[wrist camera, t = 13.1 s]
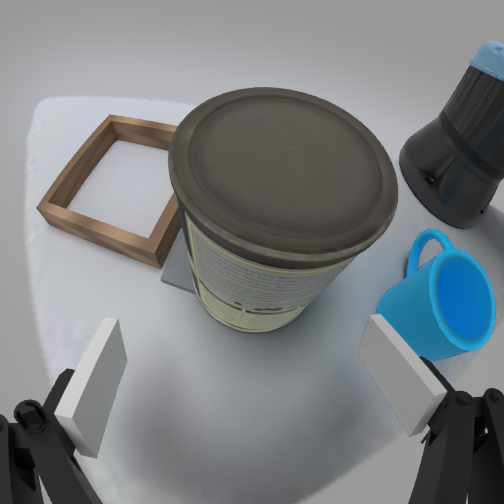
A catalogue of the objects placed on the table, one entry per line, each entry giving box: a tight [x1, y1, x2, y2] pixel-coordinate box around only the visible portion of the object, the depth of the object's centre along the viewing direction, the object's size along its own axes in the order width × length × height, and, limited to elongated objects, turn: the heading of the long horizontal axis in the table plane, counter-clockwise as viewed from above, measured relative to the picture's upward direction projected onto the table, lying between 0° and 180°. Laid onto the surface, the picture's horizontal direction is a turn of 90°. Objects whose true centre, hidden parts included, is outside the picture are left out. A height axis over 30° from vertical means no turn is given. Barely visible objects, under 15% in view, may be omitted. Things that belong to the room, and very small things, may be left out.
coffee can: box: [168, 87, 398, 333], centre depth 18 cm, size 10×10×14 cm
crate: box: [37, 115, 182, 269], centre depth 26 cm, size 14×14×3 cm
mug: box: [376, 229, 496, 362], centre depth 21 cm, size 12×8×8 cm
